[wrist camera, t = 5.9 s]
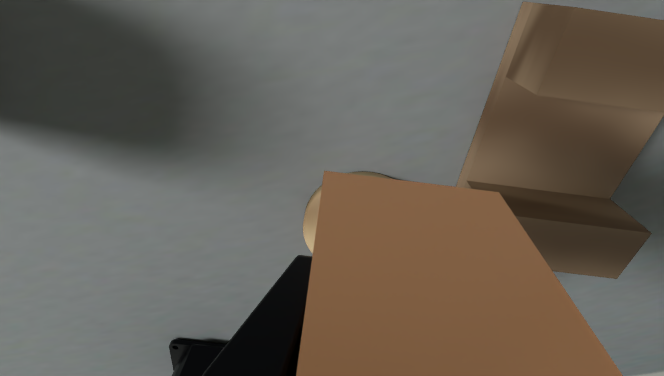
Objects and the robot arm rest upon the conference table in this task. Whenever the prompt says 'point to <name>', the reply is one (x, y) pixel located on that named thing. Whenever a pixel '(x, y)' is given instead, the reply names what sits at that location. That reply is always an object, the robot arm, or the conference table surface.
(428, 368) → the light brown wooden block
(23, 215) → the conference table surface
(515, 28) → the notch board
